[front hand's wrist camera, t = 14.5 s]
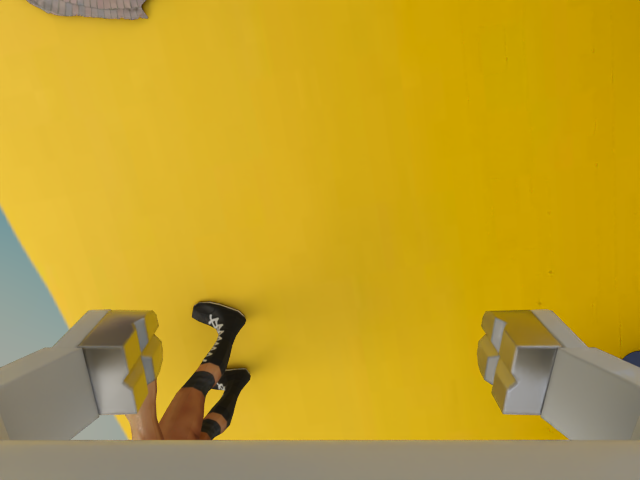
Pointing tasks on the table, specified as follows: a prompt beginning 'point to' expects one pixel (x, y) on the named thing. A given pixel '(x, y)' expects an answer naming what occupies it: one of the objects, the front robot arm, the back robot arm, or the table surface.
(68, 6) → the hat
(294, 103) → the table surface
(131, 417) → the figurine
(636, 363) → the canister
